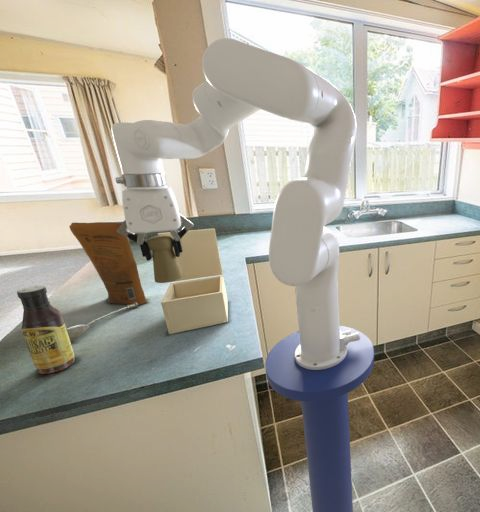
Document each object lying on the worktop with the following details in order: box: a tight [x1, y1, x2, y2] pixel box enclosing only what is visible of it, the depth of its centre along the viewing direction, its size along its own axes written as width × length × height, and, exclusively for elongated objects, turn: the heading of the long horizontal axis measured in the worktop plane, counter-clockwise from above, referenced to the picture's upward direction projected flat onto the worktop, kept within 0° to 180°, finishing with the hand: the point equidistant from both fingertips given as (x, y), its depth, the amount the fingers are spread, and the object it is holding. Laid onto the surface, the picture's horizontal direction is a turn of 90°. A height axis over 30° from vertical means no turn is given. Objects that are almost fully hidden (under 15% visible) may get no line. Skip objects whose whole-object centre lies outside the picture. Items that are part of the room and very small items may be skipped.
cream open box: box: [160, 275, 229, 335], centre depth 90 cm, size 15×15×10 cm
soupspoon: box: [66, 302, 139, 343], centre depth 86 cm, size 22×3×7 cm
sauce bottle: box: [16, 284, 76, 375], centre depth 66 cm, size 6×6×20 cm
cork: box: [147, 235, 184, 284], centre depth 73 cm, size 6×6×11 cm
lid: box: [157, 227, 224, 283], centre depth 94 cm, size 15×15×5 cm
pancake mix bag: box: [68, 221, 148, 306], centre depth 96 cm, size 7×19×28 cm, turn 77°
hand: (164, 256), depth 73 cm, fingers closed on cork, 5 cm apart
